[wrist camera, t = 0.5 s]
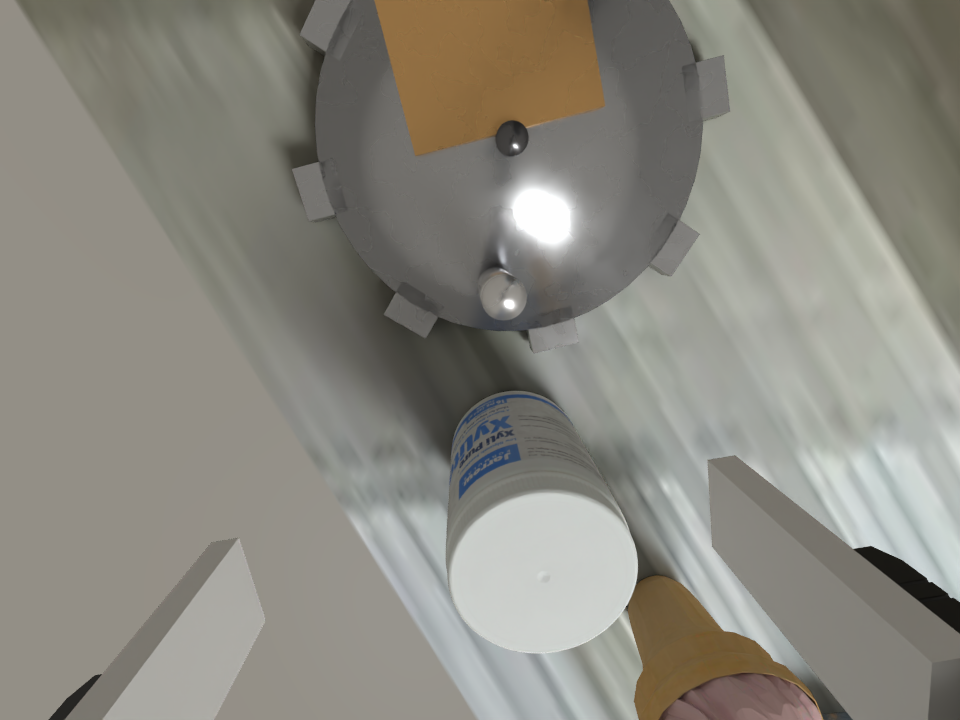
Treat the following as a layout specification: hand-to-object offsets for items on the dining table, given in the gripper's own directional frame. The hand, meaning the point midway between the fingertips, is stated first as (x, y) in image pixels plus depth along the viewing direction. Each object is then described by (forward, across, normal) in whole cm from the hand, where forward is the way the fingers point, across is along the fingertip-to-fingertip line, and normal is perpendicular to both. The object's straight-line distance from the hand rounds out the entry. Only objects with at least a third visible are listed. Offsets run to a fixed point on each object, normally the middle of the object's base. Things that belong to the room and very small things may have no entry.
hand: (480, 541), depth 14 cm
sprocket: (+23, +5, +14) cm, 27 cm away
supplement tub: (+23, +2, -8) cm, 24 cm away
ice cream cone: (+23, +12, -23) cm, 35 cm away
